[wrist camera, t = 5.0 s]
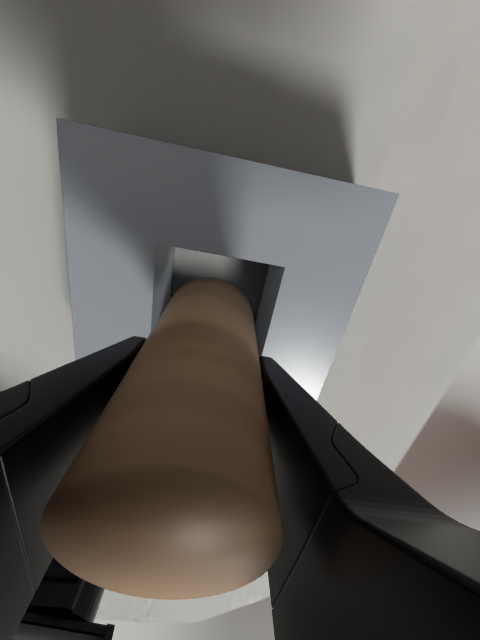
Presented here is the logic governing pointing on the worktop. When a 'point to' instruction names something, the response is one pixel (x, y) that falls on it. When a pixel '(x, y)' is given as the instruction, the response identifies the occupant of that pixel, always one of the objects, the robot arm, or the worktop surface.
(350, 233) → the socket
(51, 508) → the peg
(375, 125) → the worktop surface
